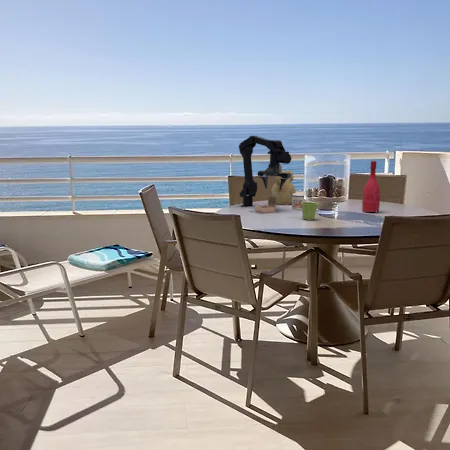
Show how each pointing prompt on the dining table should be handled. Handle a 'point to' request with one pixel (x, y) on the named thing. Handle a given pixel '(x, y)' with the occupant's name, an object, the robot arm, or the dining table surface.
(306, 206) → the plant pot
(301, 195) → the teacup with lid
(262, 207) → the open square box
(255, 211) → the slate board
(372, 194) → the wine bottle
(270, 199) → the beveled wooden wedge block
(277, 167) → the robot arm
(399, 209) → the dining table surface
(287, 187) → the ceramic vessel
